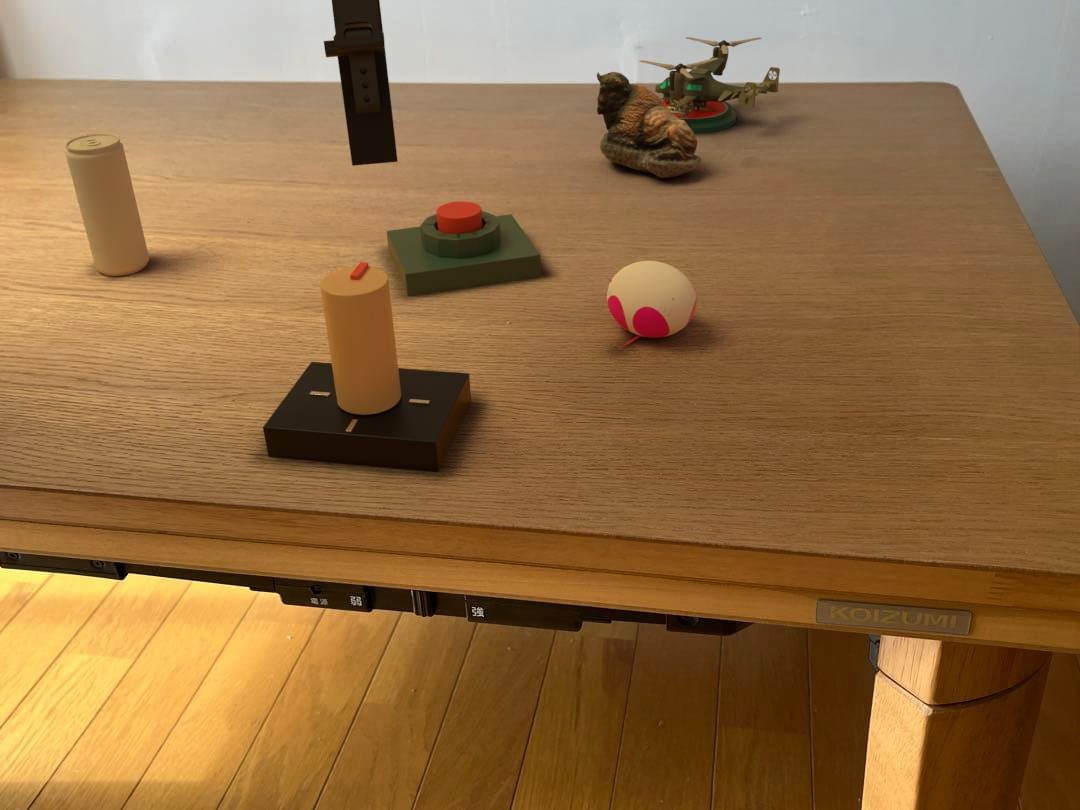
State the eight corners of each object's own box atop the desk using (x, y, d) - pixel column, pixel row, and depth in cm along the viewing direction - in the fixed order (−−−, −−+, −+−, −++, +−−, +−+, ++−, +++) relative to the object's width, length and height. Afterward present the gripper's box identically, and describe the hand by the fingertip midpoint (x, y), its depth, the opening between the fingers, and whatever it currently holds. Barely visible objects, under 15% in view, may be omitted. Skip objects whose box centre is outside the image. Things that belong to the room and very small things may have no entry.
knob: (390, 417, 74) (375, 292, 70) (328, 412, 75) (309, 288, 70) (409, 384, 78) (396, 263, 73) (349, 380, 79) (333, 260, 74)
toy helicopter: (683, 92, 145) (686, 26, 141) (795, 108, 138) (802, 39, 133) (608, 136, 131) (609, 64, 126) (729, 156, 124) (733, 81, 119)
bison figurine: (709, 171, 120) (714, 77, 115) (678, 191, 115) (682, 94, 110) (613, 153, 126) (614, 63, 120) (580, 172, 121) (579, 79, 116)
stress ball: (601, 361, 92) (568, 318, 87) (648, 284, 94) (619, 237, 88) (676, 388, 87) (646, 344, 82) (724, 306, 89) (698, 258, 84)
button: (442, 239, 97) (441, 220, 96) (433, 222, 100) (432, 204, 100) (487, 233, 98) (486, 214, 97) (476, 216, 101) (475, 198, 100)
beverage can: (101, 282, 100) (68, 154, 94) (91, 264, 104) (59, 138, 97) (155, 270, 102) (126, 143, 96) (144, 252, 106) (115, 129, 99)
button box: (407, 297, 96) (403, 254, 94) (388, 252, 104) (384, 212, 102) (541, 277, 98) (539, 235, 96) (512, 235, 107) (510, 195, 104)
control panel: (268, 457, 75) (261, 425, 74) (315, 390, 83) (310, 359, 81) (438, 473, 73) (435, 439, 72) (471, 402, 81) (469, 371, 79)
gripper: (270, -252, 71) (318, 80, 82) (238, -242, 50) (308, 201, 61) (387, -258, 72) (419, 72, 83) (404, -250, 51) (444, 189, 62)
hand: (372, 127), depth 72 cm, fingers open, 13 cm apart
